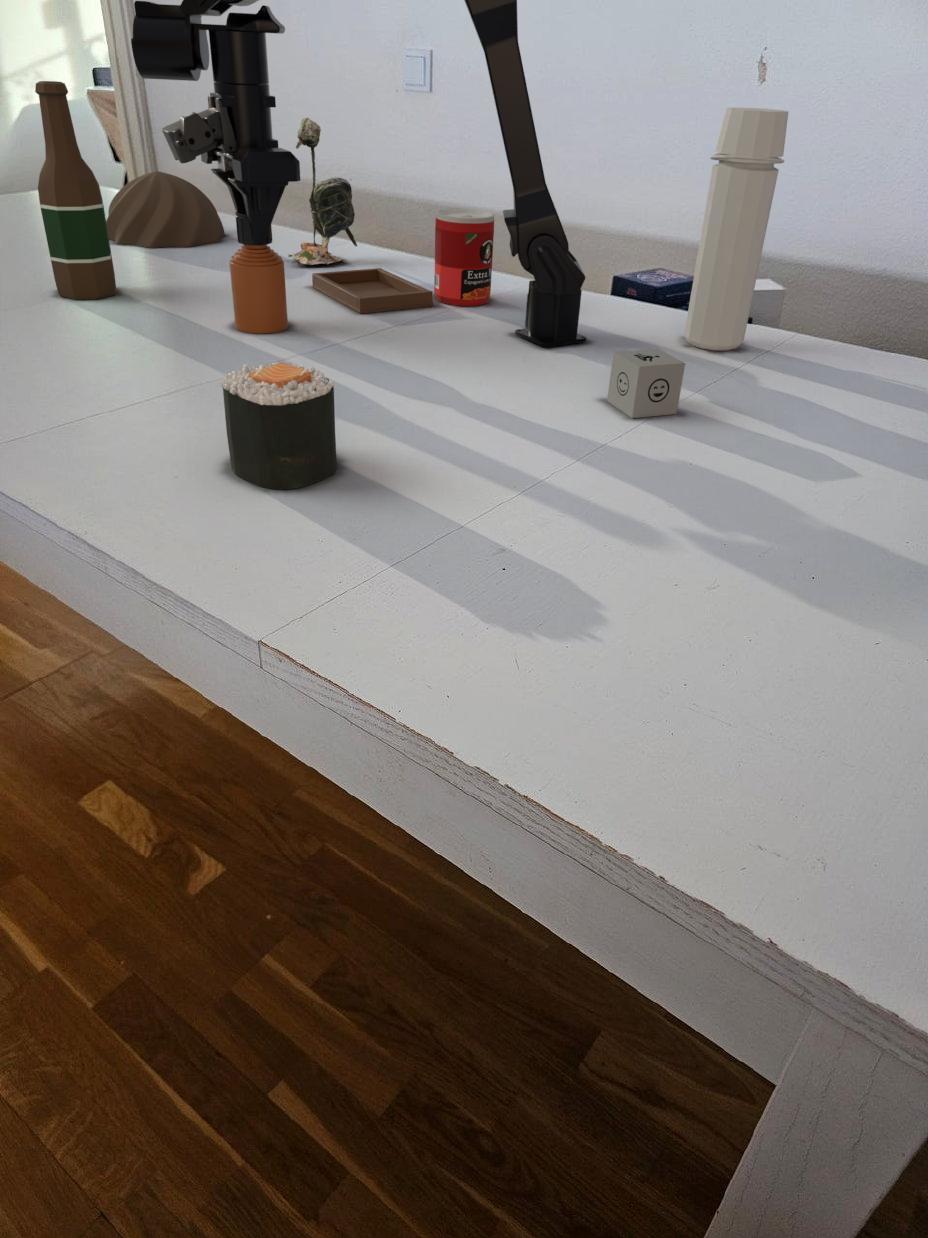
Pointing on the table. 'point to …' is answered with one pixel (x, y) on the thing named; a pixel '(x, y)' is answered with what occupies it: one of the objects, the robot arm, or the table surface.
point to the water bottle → (734, 226)
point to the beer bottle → (71, 205)
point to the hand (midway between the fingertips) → (254, 241)
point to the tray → (371, 290)
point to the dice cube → (645, 382)
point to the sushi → (280, 425)
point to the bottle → (258, 290)
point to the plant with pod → (324, 205)
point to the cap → (247, 229)
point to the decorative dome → (162, 213)
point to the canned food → (463, 256)
